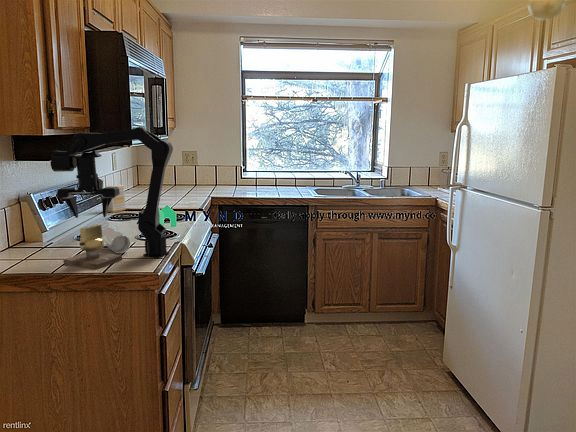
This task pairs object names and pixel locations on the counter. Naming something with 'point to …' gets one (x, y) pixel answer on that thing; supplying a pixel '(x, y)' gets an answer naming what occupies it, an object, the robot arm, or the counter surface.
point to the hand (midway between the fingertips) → (91, 217)
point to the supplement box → (117, 201)
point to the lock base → (93, 259)
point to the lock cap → (91, 238)
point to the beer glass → (115, 240)
